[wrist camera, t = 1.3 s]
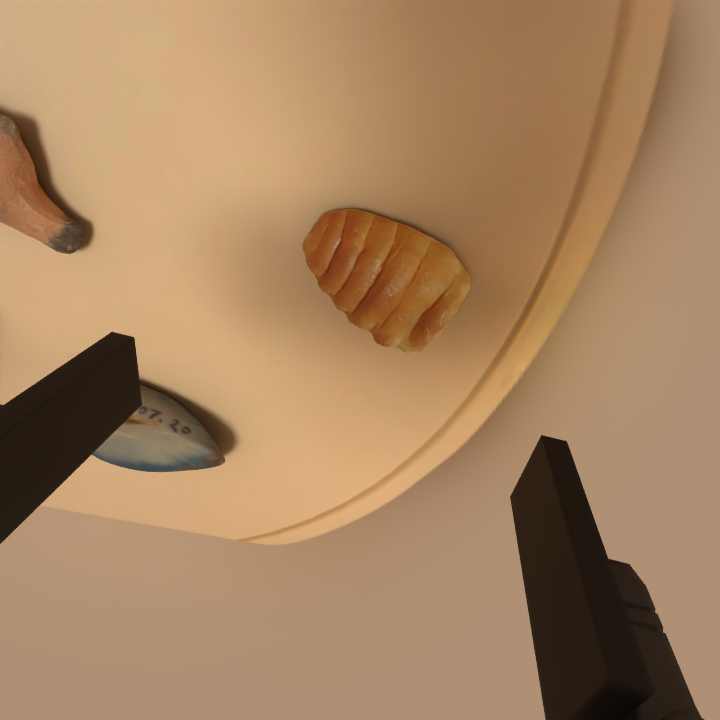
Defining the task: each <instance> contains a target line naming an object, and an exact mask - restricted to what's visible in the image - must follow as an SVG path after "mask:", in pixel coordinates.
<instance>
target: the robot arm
mask: <svg viewBox="0 0 720 720" xmlns="http://www.w3.org/2000/svg"><path fill="white" fill-rule="evenodd" d="M141 405H142V398H141V390H140V381H139V373H138V364H137V356H136V348H135V339H134V337H131V336H127V335H123V334H118V333H114V332H111V333H110V334H108V335H107V336H105V337H104V338H102V339H101V340H99V341H98V342H96V343H95V344H93V345H92V346H90V347H89V348H87V349H86V350H84V351H83V352H81V353H80V354H79V355H77V356H76V357H74V358H73V359H71V360H70V361H68V362H67V363H65V364H64V365H62V366H61V367H59V368H58V369H56V370H55V371H53V372H52V373H50V374H49V375H47V376H46V377H44V378H43V379H41V380H40V381H39V382H37V383H36V384H34V385H33V386H31V387H30V388H28V389H27V390H25V391H24V392H22V393H21V394H19V395H18V396H16V397H15V398H13V399H12V400H10V401H9V402H7V403H6V404H4V405H0V544H1V543H2V541H4V540H5V539H6V538H7V537H8V536H9V535H10V534H11V533H12V532H13V531H14V530H15V529H16V528H17V527H18V526H19V525H20V524H21V523H22V522H23V521H24V520H25V519H26V518H27V517H28V516H29V515H30V514H31V513H32V512H33V511H34V510H35V509H36V508H37V507H38V506H39V505H40V504H41V503H42V502H44V501H45V500H46V499H47V498H48V497H49V496H50V495H51V494H52V493H53V492H54V491H55V490H56V489H57V488H58V487H59V486H60V485H61V484H62V483H63V482H64V481H65V480H66V479H67V478H68V477H69V476H70V475H71V474H72V473H73V472H74V471H75V470H76V469H77V468H78V467H79V466H80V465H81V464H82V463H83V462H84V461H85V460H86V459H87V458H88V457H89V456H90V455H91V454H92V453H93V452H95V451H96V450H97V449H98V448H99V447H100V446H101V445H102V444H103V443H104V442H105V441H106V440H107V439H108V438H109V437H110V436H111V435H112V434H113V433H114V432H115V431H116V430H117V429H118V428H119V427H120V426H121V425H122V424H123V423H124V422H125V421H126V420H127V419H128V418H129V417H130V416H131V415H132V414H133V413H134V412H135V411H136V410H137V409H138V408H139V407H140V406H141ZM510 498H511V505H512V511H513V517H514V523H515V530H516V535H517V542H518V549H519V555H520V561H521V567H522V574H523V580H524V586H525V593H526V598H527V605H528V611H529V617H530V624H531V630H532V636H533V643H534V649H535V655H536V661H537V668H538V674H539V681H540V686H541V693H542V700H543V706H544V712H545V718H546V720H704V719H702V718H701V716H700V714H699V712H698V710H697V708H696V706H695V704H694V701H693V699H692V697H691V694H690V692H689V689H688V687H687V684H686V682H685V680H684V677H683V675H682V672H681V670H680V667H679V665H678V663H677V660H676V658H675V656H674V653H673V650H672V648H671V646H670V643H669V641H668V638H667V636H666V634H665V633H663V626H662V624H661V621H660V619H659V617H658V614H656V613H655V607H654V604H653V602H652V600H651V597H650V595H649V592H648V590H647V587H646V585H645V584H644V583H643V582H642V580H641V579H640V578H639V576H638V575H637V574H636V572H635V571H634V570H633V569H632V567H631V566H630V564H626V563H622V562H619V561H615V560H611V559H608V557H607V554H606V551H605V548H604V545H603V543H602V540H601V537H600V534H599V531H598V528H597V525H596V523H595V520H594V517H593V514H592V511H591V509H590V506H589V503H588V500H587V497H586V495H585V492H584V489H583V486H582V483H581V480H580V477H579V474H578V472H577V469H576V466H575V463H574V461H573V457H572V455H571V452H570V449H569V446H568V444H567V442H566V441H563V440H559V439H555V438H551V437H546V436H543V435H541V437H540V439H539V441H538V443H537V445H536V447H535V449H534V451H533V453H532V455H531V457H530V459H529V461H528V463H527V465H526V467H525V469H524V471H523V473H522V475H521V477H520V479H519V481H518V482H517V485H516V487H515V488H514V491H513V492H512V494H511V496H510Z"/></svg>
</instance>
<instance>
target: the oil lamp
mask: <svg viewBox="0 0 720 720" xmlns="http://www.w3.org/2000/svg"><path fill="white" fill-rule="evenodd" d="M0 222H2V223H4V224H6V225H8V226H10V227H12V228H14V229H16V230H18V231H20V232H22V233H24V234H26V235H28V236H31V237H33V238H35V239H37V240H39V241H41V242H42V243H44V244H45V245H47V246H49V247H50V248H52V249H54V250H55V251H57V252H61V253H67V254H71V253H74V252H76V251H77V250H78V249H79V247H80V245H81V242H82V241H81V238H82V229H81V226H80V225H79V224H78V223H76V222H75V221H74V220H72V219H70V218H69V217H68V216H67V215H66V214H65V213H64V212H63V211H62V210H61V209H59V208H58V207H57V206H56V205H55V204H54V203H53V202H52V201H51V200H50V198H49V197H48V196H47V195H46V194H45V192H44V191H43V189H42V188H41V186H40V185H39V183H38V182H37V175H36V170H35V166H34V164H33V161H32V159H31V157H30V155H29V153H28V151H27V149H26V147H25V145H24V144H23V142H22V140H21V137H20V131H19V128H18V126H17V125H16V124H15V123H14V122H13V121H12V120H11V118H9V117H8V116H7V115H4V114H0Z"/></svg>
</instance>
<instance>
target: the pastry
mask: <svg viewBox="0 0 720 720" xmlns="http://www.w3.org/2000/svg"><path fill="white" fill-rule="evenodd" d="M303 250H304V252H305V257H306V263H307V265H308V267H309V268H310V270H311V271H312V272H313V273H314V275H315V276H316V278H317V280H318V284H319V287H320V288H321V290H322V291H324V292H326V293H327V294H328V295H329V296H331V298H332V300H333V302H334V304H335V306H336V307H337V308H338V309H339V310H341V311H343V312H344V313H346V315H347V316H348V319H349V321H350V322H351V323H353V324H354V325H356V326H358V327H359V328H361V329H364V330H369V331H370V332H372V335H373V338H374V340H375V342H376V343H378V344H380V345H382V346H386V347H391V346H395V347H398V348H400V349H401V350H403V351H404V352H412V353H416V352H420V351H422V350H423V349H425V348H426V347H427V346H428V345H429V344H430V343H431V342H432V341H433V340H434V339H435V338H436V337H437V336H438V335H439V334H440V333H441V332H442V331H443V330H444V329H445V328H446V327H447V325H448V323H449V321H450V319H451V317H452V316H453V315H454V314H455V313H456V312H457V310H458V308H459V307H460V305H461V303H462V302H463V300H464V298H465V297H466V296H467V293H468V291H469V289H470V286H471V278H470V275H469V273H468V272H467V271H466V269H465V268H464V267H463V265H462V264H461V263H460V262H459V260H458V259H457V257H456V255H455V253H454V252H453V251H452V249H450V248H449V247H448V246H447V245H445V244H443V243H441V242H439V241H438V240H436V239H434V238H433V237H430V236H428V235H425V234H424V233H422V232H420V231H418V230H416V229H414V228H413V227H410V226H408V225H405V224H401V223H399V222H396V221H393V220H390V219H387V218H384V217H381V216H378V215H375V214H373V213H370V212H366V211H363V210H359V209H337V210H332V211H328V212H325V213H324V214H322V215H321V217H320V218H319V219H318V220H317V222H316V223H315V224H314V226H313V228H312V230H311V231H310V232H309V234H308V235H307V236H306V238H305V240H304V242H303Z"/></svg>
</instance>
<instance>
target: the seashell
mask: <svg viewBox="0 0 720 720" xmlns="http://www.w3.org/2000/svg"><path fill="white" fill-rule="evenodd" d="M140 390H141V398H142V405H141V406H140V407H139V408H138V409H137V410H136V411H135V412H134V413H133V414H132V415H131V416H130V417H129V418H128V419H127V420H126V421H125V422H124V423H123V424H122V425H121V426H120V427H119V428H118V429H117V430H116V431H115V432H114V433H113V434H112V435H111V436H110V437H109V438H108V439H107V440H106V441H105V442H104V443H103V444H102V445H101V446H100V447H99V448H98V449H97V450H96V451H95V452H93V453H92V455H94V456H95V457H97V458H99V459H101V460H103V461H106V462H108V463H111V464H114V465H117V466H120V467H124V468H129V469H133V470H139V471H147V472H173V471H186V470H198V469H205V468H211V467H216V466H219V465H222V464H223V463H224V462H225V458H224V456H223V454H222V453H221V451H220V449H219V448H218V446H217V445H216V443H215V442H214V440H213V439H212V437H211V436H210V434H209V433H208V432H207V430H206V429H205V428H204V426H203V425H202V424H201V423H200V422H199V421H198V420H197V419H196V418H195V417H194V416H193V415H192V414H191V413H190V412H188V411H187V410H186V409H185V408H184V407H183V406H181V405H180V404H179V403H177V402H176V401H174V400H173V399H171V398H169V397H168V396H166V395H164V394H162V393H160V392H158V391H155V390H153V389H150V388H148V387H145V386H142V385H140Z"/></svg>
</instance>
